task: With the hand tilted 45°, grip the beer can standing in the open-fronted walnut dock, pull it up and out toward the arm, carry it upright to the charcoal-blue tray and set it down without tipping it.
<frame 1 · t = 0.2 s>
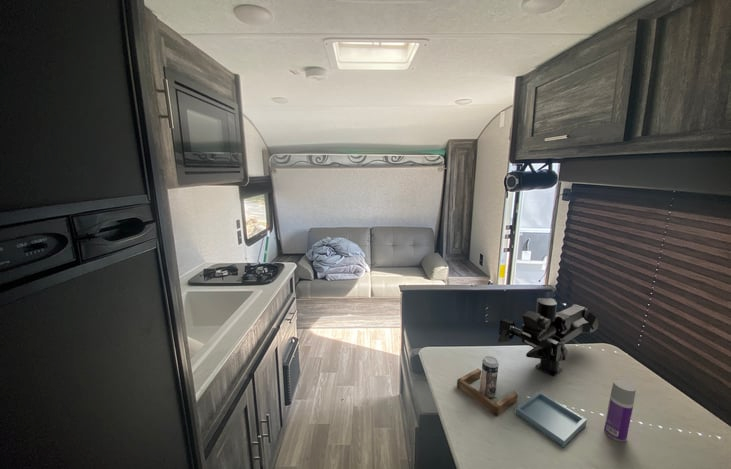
hand: (512, 347, 91), 17 cm above the table, tool horizontal, fingers open, 9 cm apart
beer can: (487, 394, 94), on the table
container: (614, 434, 80), on the table
tray: (549, 419, 84), on the table
dock: (487, 393, 94), on the table
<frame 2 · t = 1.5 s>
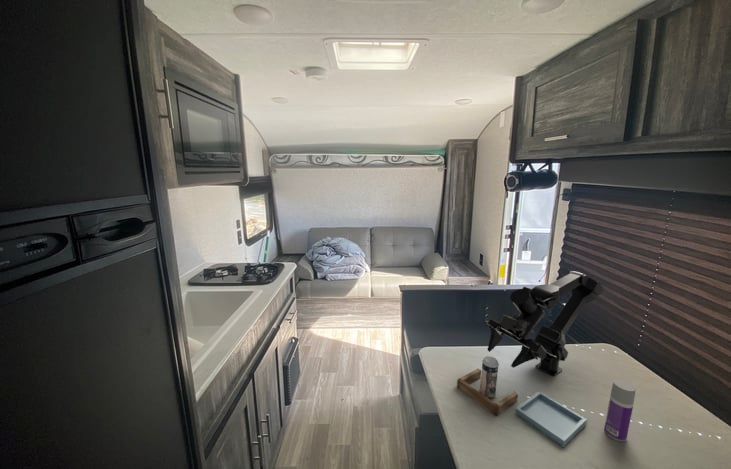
hand: (499, 358, 94), 11 cm above the table, tool tilted 45°, fingers open, 9 cm apart
nothing on the table moved.
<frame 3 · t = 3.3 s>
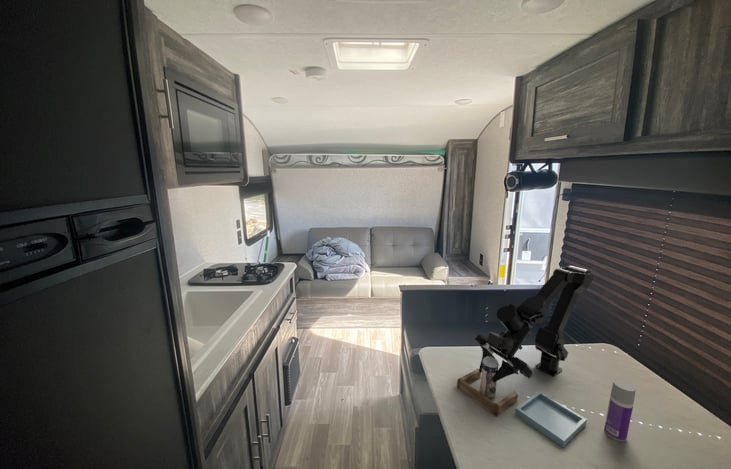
hand: (486, 376, 93), 7 cm above the table, tool tilted 45°, fingers closed on beer can, 5 cm apart
beer can: (487, 394, 94), on the table, touching gripper
everything else where it was.
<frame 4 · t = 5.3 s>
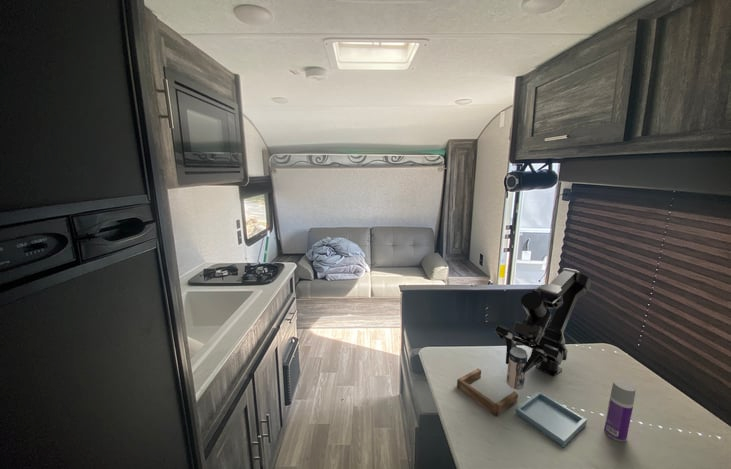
hand: (514, 368, 89), 12 cm above the table, tool tilted 45°, fingers closed on beer can, 5 cm apart
beer can: (514, 386, 91), point 5 cm above the table, touching gripper
everything else where it was.
when the fingers open (8 cm above the table, at t = 7.3 s): beer can stays where it is, resting on tray.
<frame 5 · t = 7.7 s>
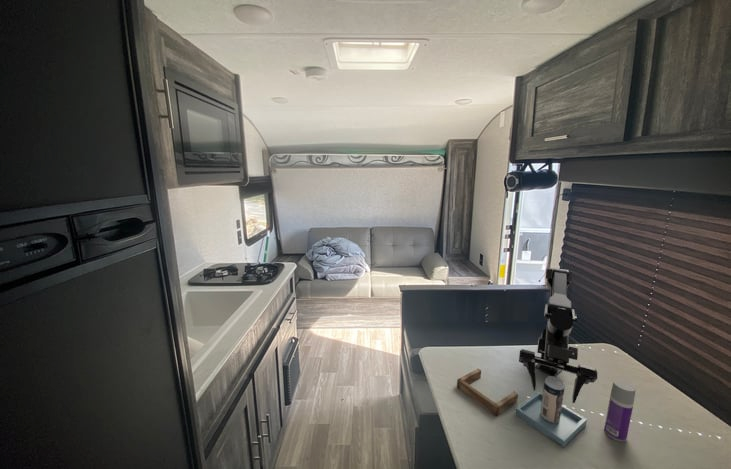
hand: (553, 396, 81), 9 cm above the table, tool tilted 45°, fingers open, 9 cm apart
beer can: (549, 418, 84), resting on tray
everything else where it was.
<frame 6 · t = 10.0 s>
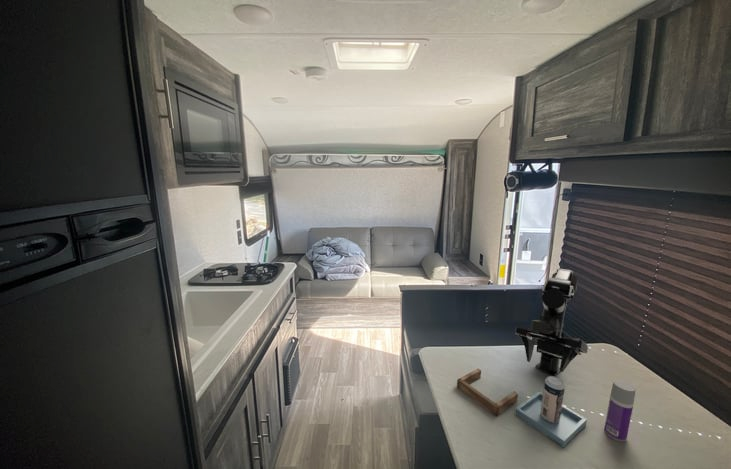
hand: (544, 366, 89), 12 cm above the table, tool tilted 35°, fingers open, 9 cm apart
nothing on the table moved.
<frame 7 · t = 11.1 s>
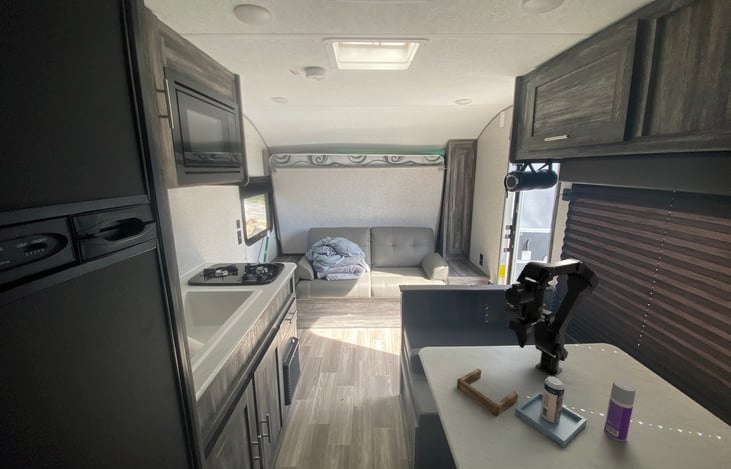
hand: (528, 343, 100), 13 cm above the table, tool pointing down, fingers open, 9 cm apart
nothing on the table moved.
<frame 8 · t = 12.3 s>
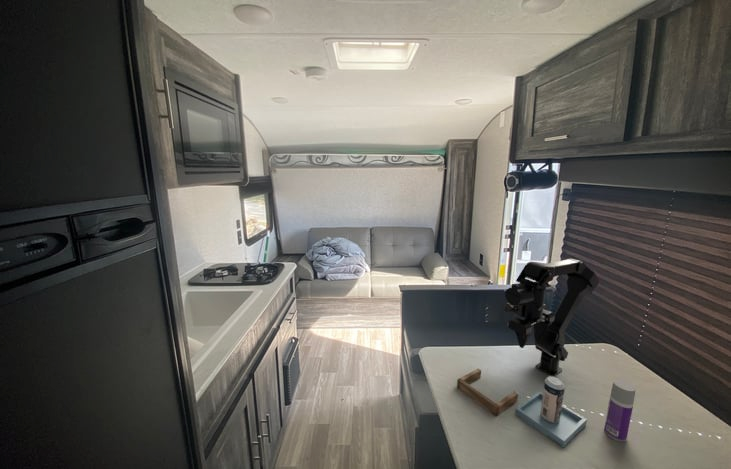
hand: (528, 343, 100), 13 cm above the table, tool pointing down, fingers open, 9 cm apart
nothing on the table moved.
at the end: beer can inside the target area on the tray (0.0 cm from its centre), point 0.4 cm above the tray's base; beer can tilted 0°; the gripper is holding nothing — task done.
